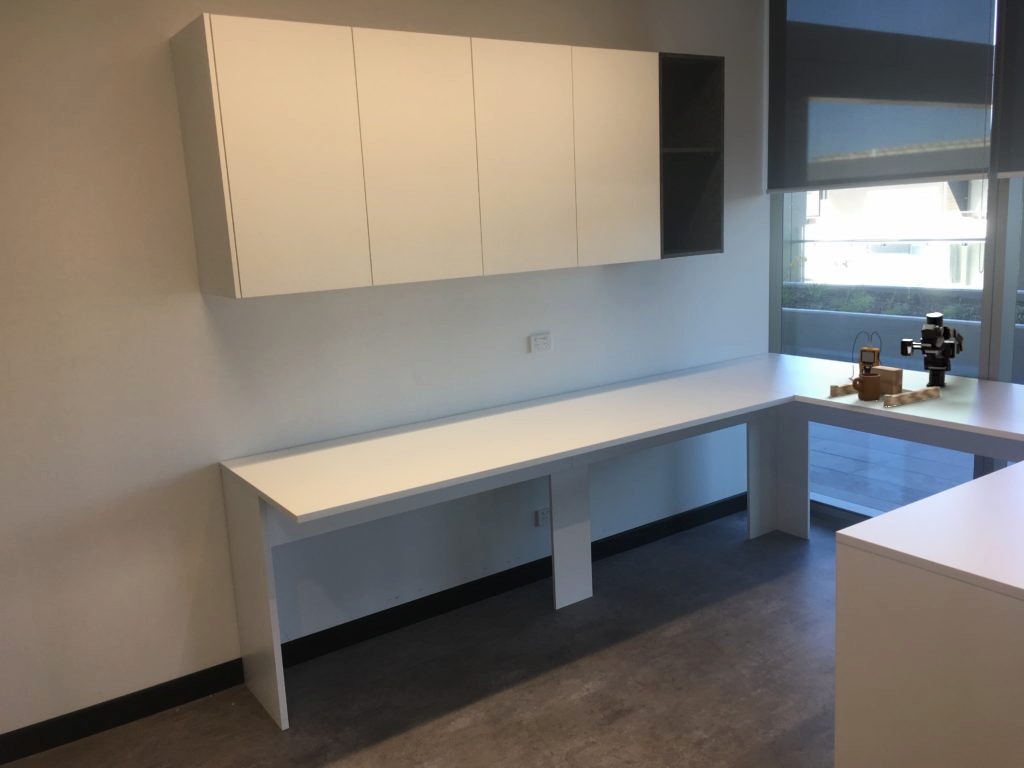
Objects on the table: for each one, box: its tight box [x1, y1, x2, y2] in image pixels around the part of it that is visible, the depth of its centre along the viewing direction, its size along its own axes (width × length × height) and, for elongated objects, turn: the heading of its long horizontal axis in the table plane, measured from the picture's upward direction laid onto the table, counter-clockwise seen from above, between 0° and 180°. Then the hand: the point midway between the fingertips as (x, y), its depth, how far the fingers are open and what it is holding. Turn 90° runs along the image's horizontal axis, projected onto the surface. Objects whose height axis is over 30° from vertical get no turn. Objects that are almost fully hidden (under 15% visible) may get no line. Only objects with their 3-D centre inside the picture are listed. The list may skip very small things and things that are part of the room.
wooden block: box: [871, 365, 904, 397], centre depth 312 cm, size 5×10×10 cm, turn 27°
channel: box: [829, 382, 941, 408], centre depth 312 cm, size 28×26×4 cm
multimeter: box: [848, 331, 883, 381], centre depth 340 cm, size 15×10×20 cm
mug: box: [851, 373, 881, 402], centre depth 307 cm, size 12×8×9 cm, turn 115°
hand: (922, 355), depth 304 cm, fingers open, 9 cm apart
